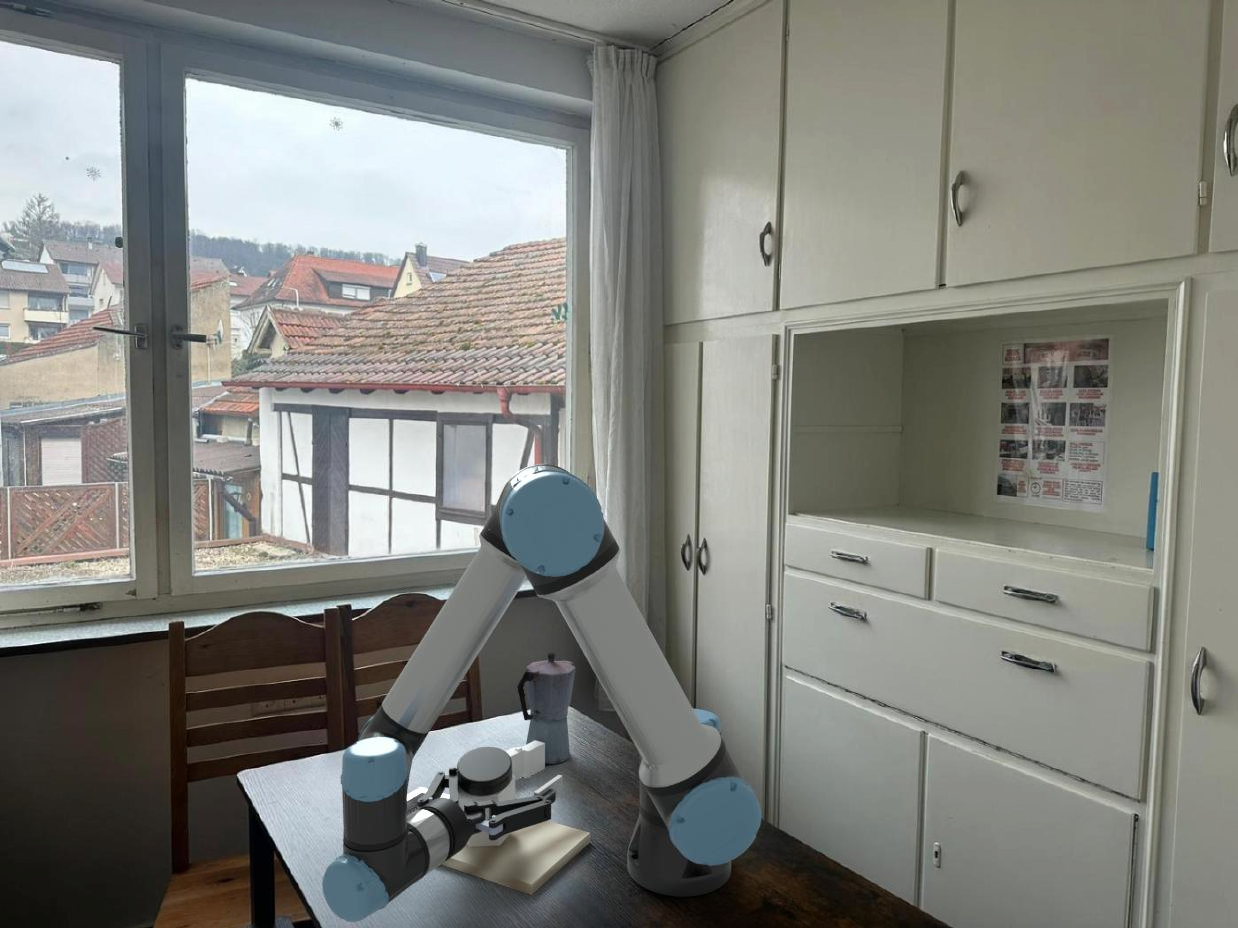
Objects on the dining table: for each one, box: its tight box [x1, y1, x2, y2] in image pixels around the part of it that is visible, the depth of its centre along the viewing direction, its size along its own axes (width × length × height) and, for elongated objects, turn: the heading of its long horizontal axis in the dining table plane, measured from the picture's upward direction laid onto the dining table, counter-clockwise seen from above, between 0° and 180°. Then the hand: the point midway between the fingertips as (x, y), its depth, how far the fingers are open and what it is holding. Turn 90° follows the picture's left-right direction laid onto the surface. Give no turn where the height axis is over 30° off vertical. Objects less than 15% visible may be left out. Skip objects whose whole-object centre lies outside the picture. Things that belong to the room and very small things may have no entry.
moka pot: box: [517, 652, 576, 765], centre depth 162 cm, size 10×15×20 cm, turn 148°
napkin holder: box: [504, 740, 546, 781], centre depth 154 cm, size 15×11×6 cm
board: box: [442, 820, 591, 896], centre depth 129 cm, size 18×16×2 cm
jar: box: [456, 746, 517, 847], centre depth 129 cm, size 9×8×12 cm
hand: (523, 774), depth 131 cm, fingers open, 13 cm apart
